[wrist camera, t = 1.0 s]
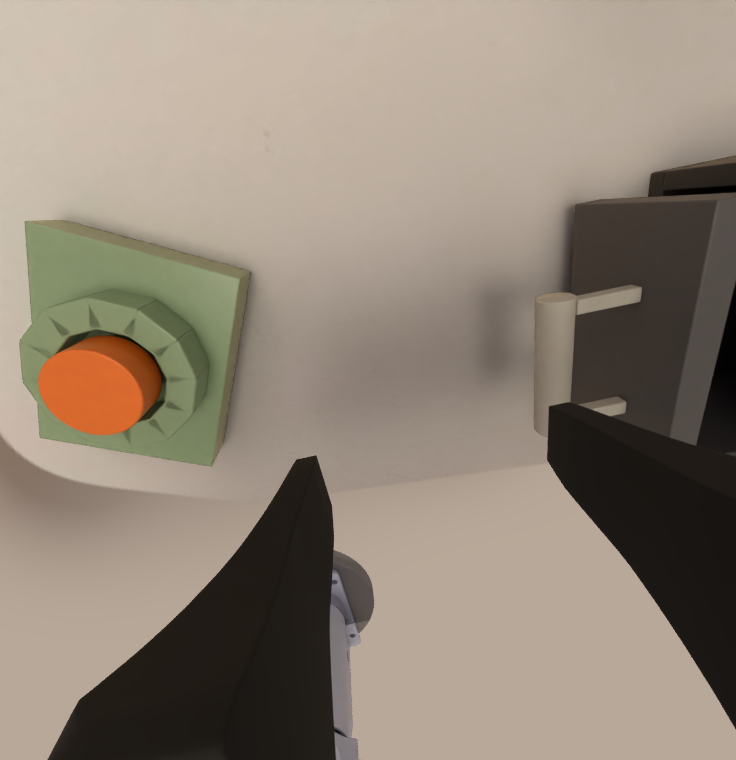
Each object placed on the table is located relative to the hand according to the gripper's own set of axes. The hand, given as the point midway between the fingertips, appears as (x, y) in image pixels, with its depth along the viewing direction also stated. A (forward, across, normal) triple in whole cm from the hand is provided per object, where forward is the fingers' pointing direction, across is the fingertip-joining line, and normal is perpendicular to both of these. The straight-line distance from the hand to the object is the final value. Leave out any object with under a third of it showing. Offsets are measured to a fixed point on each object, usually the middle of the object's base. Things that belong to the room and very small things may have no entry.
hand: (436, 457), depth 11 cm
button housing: (+9, +12, -3) cm, 15 cm away
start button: (+6, +12, -3) cm, 13 cm away
